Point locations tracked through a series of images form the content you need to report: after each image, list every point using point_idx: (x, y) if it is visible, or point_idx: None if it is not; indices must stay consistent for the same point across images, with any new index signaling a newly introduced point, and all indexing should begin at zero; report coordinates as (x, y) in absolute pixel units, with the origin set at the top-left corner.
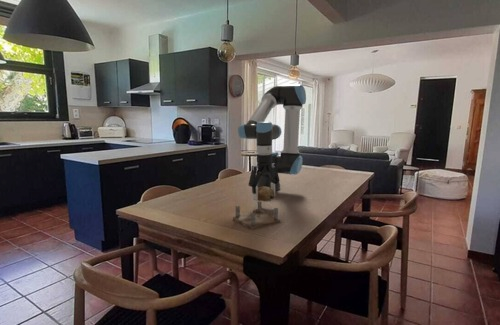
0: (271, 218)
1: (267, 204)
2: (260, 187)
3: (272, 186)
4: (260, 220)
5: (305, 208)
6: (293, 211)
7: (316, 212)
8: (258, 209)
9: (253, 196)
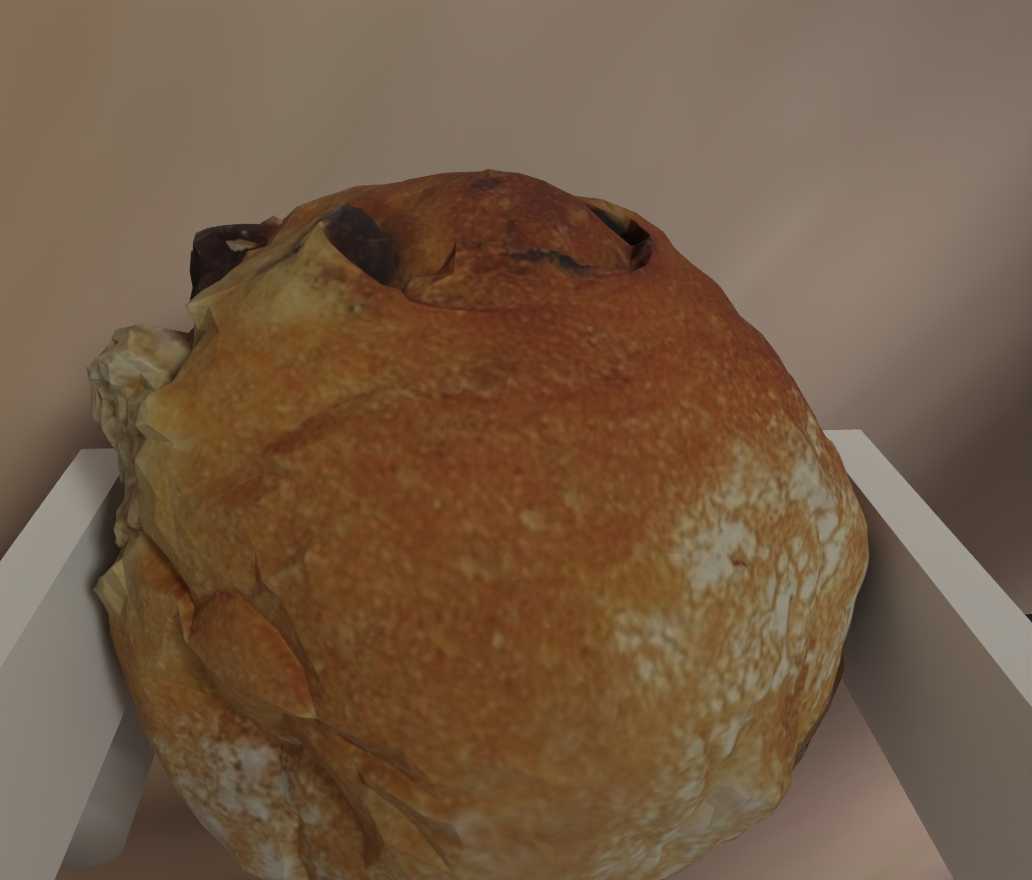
0: (202, 872)
1: (714, 178)
2: (361, 748)
3: (970, 777)
4: None
5: None
6: None
7: None
8: None
9: (40, 514)
